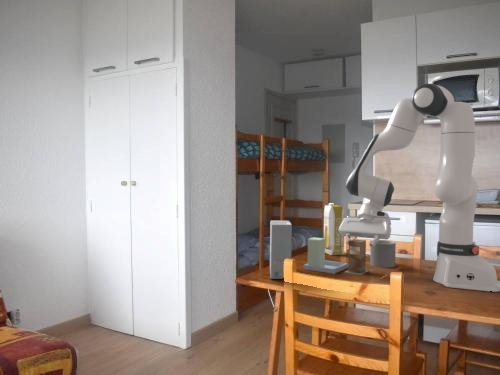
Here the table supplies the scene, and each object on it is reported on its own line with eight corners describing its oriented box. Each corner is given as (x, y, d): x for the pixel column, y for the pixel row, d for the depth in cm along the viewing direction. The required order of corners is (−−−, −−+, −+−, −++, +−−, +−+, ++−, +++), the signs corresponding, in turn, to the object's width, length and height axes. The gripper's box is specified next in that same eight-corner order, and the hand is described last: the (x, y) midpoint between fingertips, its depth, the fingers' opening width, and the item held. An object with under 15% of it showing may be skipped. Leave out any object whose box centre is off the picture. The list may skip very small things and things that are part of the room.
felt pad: (369, 272, 173) (369, 270, 173) (361, 276, 167) (361, 274, 167) (352, 269, 177) (352, 268, 177) (344, 273, 171) (344, 272, 171)
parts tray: (347, 268, 179) (348, 263, 179) (334, 275, 168) (334, 269, 168) (318, 264, 186) (318, 259, 186) (303, 270, 176) (303, 264, 176)
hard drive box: (291, 279, 161) (292, 225, 160) (270, 279, 161) (270, 224, 160) (288, 269, 176) (289, 219, 175) (269, 269, 176) (269, 219, 176)
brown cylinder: (365, 271, 172) (365, 240, 172) (360, 273, 168) (361, 242, 168) (353, 269, 175) (353, 239, 175) (348, 271, 171) (348, 240, 171)
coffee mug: (384, 269, 178) (385, 244, 177) (365, 265, 186) (365, 241, 185) (405, 265, 185) (405, 241, 185) (385, 261, 193) (386, 238, 193)
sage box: (324, 268, 177) (325, 238, 176) (318, 270, 173) (319, 240, 172) (313, 266, 180) (313, 237, 179) (307, 269, 176) (307, 238, 175)
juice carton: (321, 252, 213) (322, 202, 212) (336, 251, 215) (337, 202, 214) (330, 256, 204) (330, 204, 203) (345, 255, 206) (346, 203, 205)
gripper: (342, 211, 184) (332, 237, 177) (391, 213, 173) (383, 242, 165) (346, 220, 188) (337, 247, 180) (395, 223, 176) (387, 252, 169)
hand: (359, 244), depth 173 cm, fingers open, 8 cm apart
